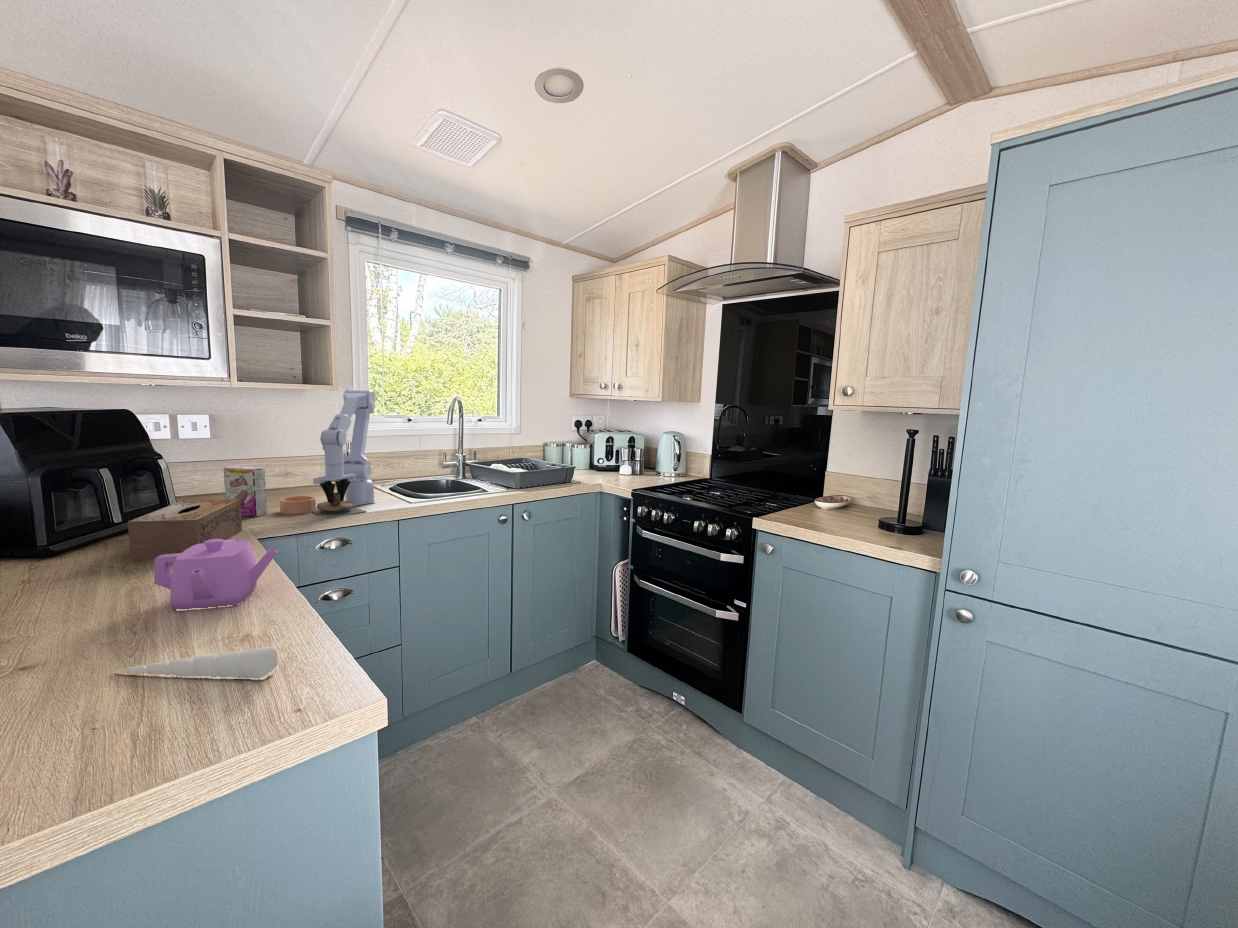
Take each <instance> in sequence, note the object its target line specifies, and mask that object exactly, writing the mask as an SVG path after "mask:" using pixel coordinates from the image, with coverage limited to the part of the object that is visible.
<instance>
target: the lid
mask: <svg viewBox="0 0 1238 928" xmlns="http://www.w3.org/2000/svg"><path fill="white" fill-rule="evenodd" d="M316 504H317V505H316V510H323V511H341V510H347V509H351V508H352V507H354V506H353V503H352V502H348V501H346V500H343V501H340V493H338V492H337V491H336V492H335V491H334V502H333V503H329V502H328V500H326V501H322V502H319V503H316Z"/></svg>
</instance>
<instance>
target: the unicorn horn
mask: <svg viewBox="0 0 1238 928" xmlns="http://www.w3.org/2000/svg"><path fill="white" fill-rule="evenodd" d="M278 663H279V657H278V652H277V650H276V648H274V647H273V646H262V647H257V648H249V649H245V650H236V651H228V652H227V651H226V652H222V653H212V654H206V655H199V656H195V657H194V656H192V657H185V658H179V659H173V660H171V661H170V660H166V661H160V662H153V663H148V664H147V665H146V664H142V665H136V666H132V667H131V666H130V667H126V668H125V667H124V669H125V671H126V672H133V673H149V674H164V675H170V674H173V675H176V676H194V675H196V676H211V677H216V676H220V677H237V678H241V677H244V678H261V677H263V676H265V675H266V674H268V673H269V672H271V671H272V670H273V669H274V668H275V667H276V666H277V667H278V665H279V664H278ZM116 670H117V669H116ZM122 670H123V669H118V670H117V671H122Z"/></svg>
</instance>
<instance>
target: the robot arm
mask: <svg viewBox="0 0 1238 928" xmlns="http://www.w3.org/2000/svg"><path fill="white" fill-rule="evenodd" d="M342 398H343V405H342V408H341V410H340V413H337V414H335V416H334V418H332V420H331V422H330V424H329V426H328V428H327V429H324V430H323V431H322V432H321V434H320V439H319V440H320V443H321V446H322V450H323V451H324V467H325V468H324V469H325V471H324V473H325V475H324V476H319V477H313V478H312V483H313V485H319V486H320V488H321V489H322V490H323V493H324V495H325V497H326V501H328V502H329V503H333V502H334V492H335V487H336V492H338V493H340V501H348V502H352V503H353V507H355V506H360V505H367V504H368V505H369V504H374V503H376V501H375V489H374V488H375V487H374V483H373V481H372V480H371V479H370V477H371V475H372V465H371V464H372V463H371V460H370V459H369V458H368V457H366V455H365V451H366V445H367V439H368V438H367V437H368V430H369V425H370V424H369V423H370V416H371V415H372V414H374V410H375V407H376V394H375V391H373V390H372V389H357V388H355V389H353V388H346V389H344V392H343V395H342ZM353 415H354V423H353V429H352V436H351V443H350V451H349V454H348V455H346V456H345V457H344V446H345V445H346V442H347V435H348V433H347V432H348V430H349V428H350V426H351V424H352V420H351V418H352V416H353Z"/></svg>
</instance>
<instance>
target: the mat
mask: <svg viewBox="0 0 1238 928" xmlns="http://www.w3.org/2000/svg"><path fill="white" fill-rule="evenodd" d="M311 513H312V514H315V513H316V515H318V514H319V515H318V516H321V515H322V517H324V516H326V517H327V519H333V518H338V517H344V516H349V515H350V516H351V515H352V516H353V515H357V514H364V513H365V514H366V513H367V511H366V510H363V509H361V508H359V507H355V506H353V507H352V508H351V509H347V510H341V511H323V510H319V509H316V510H315V511H312V512H311ZM326 517H325V518H326Z"/></svg>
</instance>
